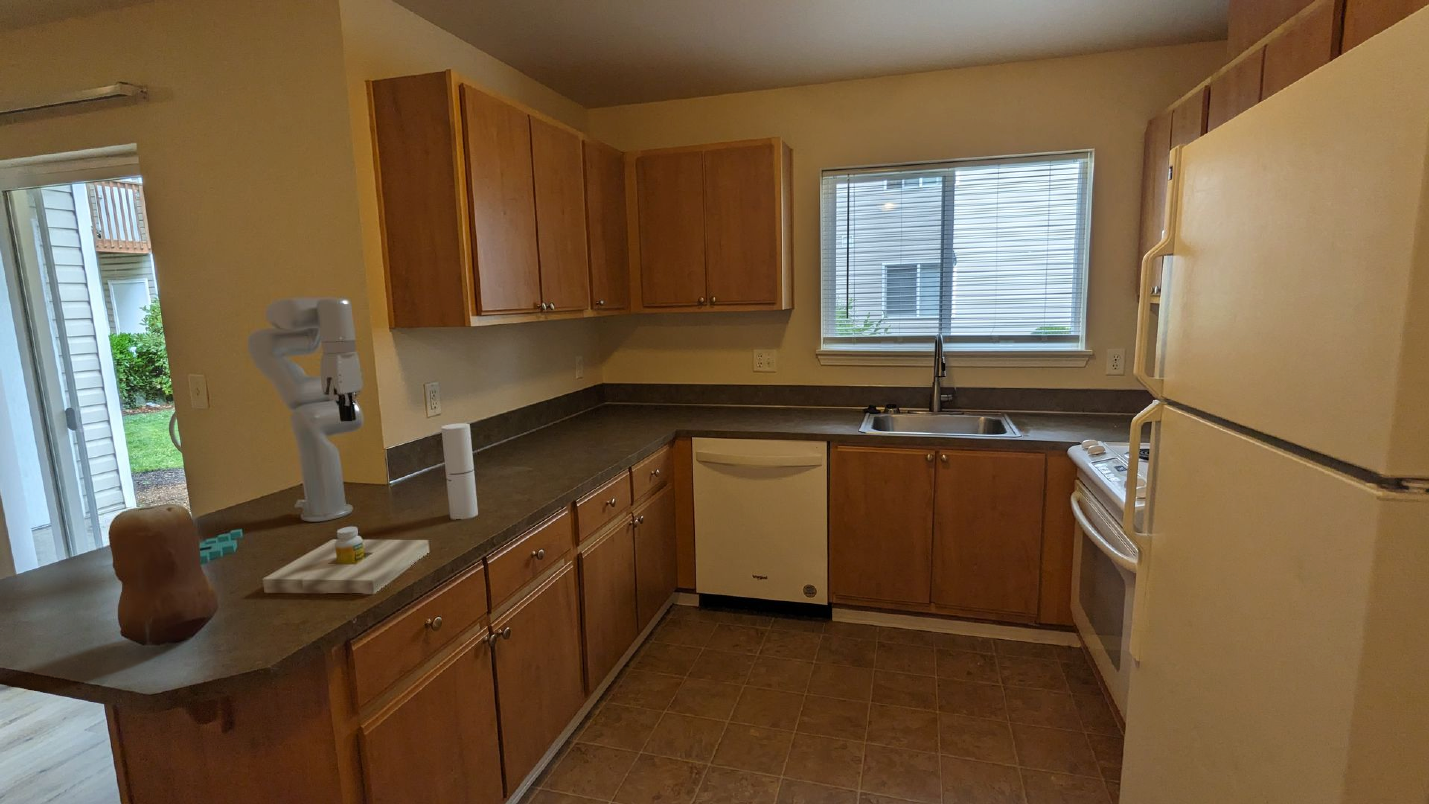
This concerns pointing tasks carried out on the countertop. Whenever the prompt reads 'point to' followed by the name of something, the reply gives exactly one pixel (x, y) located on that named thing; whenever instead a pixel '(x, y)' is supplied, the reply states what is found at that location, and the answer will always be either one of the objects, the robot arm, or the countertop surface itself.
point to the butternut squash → (160, 575)
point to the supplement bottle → (349, 546)
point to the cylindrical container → (459, 470)
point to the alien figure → (219, 546)
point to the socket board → (347, 568)
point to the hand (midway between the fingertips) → (348, 420)
